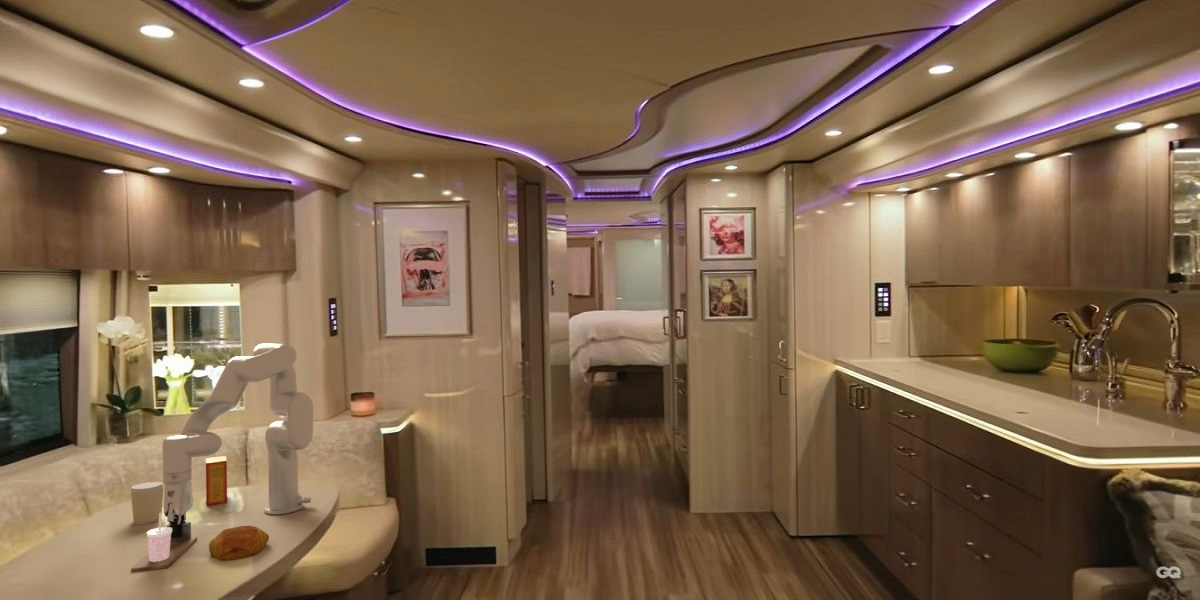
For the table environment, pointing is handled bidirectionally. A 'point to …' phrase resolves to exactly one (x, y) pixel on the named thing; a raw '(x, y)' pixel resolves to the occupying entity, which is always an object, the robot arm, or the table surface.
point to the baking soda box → (216, 480)
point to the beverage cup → (159, 542)
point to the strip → (176, 550)
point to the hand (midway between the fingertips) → (177, 535)
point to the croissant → (238, 542)
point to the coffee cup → (147, 501)
